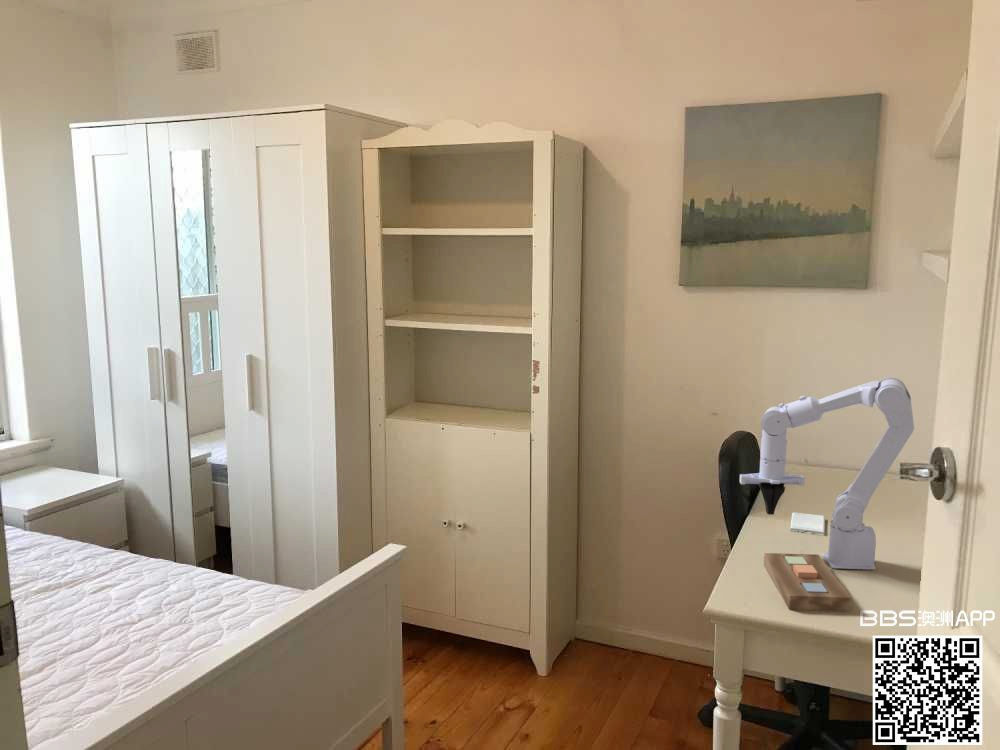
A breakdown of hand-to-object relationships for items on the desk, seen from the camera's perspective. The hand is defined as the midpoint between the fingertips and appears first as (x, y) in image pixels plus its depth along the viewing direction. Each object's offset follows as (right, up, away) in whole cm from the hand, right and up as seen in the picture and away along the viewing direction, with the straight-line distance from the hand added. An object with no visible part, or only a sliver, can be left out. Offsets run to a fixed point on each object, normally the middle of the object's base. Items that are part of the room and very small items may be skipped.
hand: (769, 513), depth 193 cm
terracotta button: (+1, -11, -19) cm, 22 cm away
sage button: (+2, -11, -11) cm, 16 cm away
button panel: (+1, -13, -18) cm, 22 cm away
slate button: (+1, -13, -25) cm, 28 cm away
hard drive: (+16, -7, +18) cm, 25 cm away
